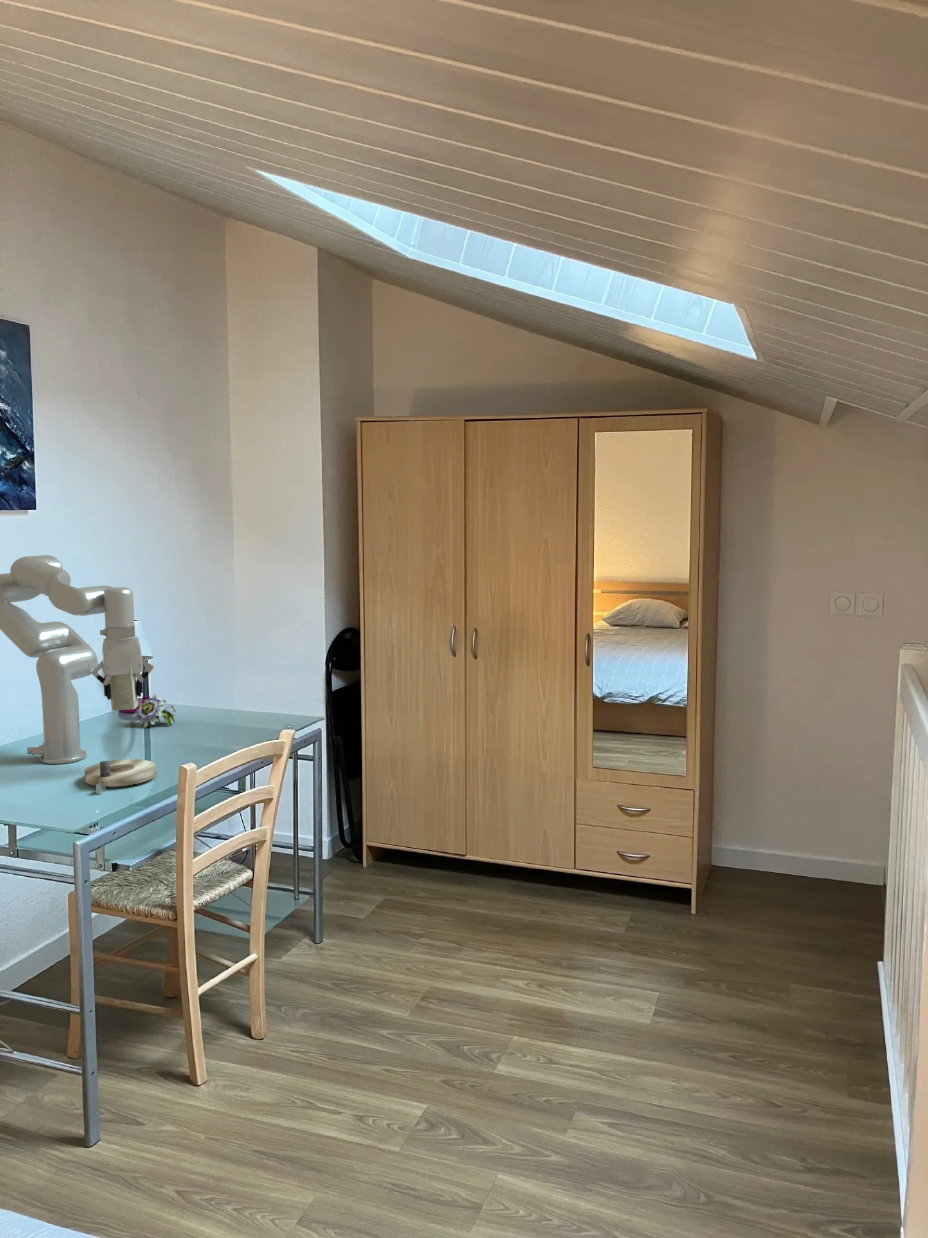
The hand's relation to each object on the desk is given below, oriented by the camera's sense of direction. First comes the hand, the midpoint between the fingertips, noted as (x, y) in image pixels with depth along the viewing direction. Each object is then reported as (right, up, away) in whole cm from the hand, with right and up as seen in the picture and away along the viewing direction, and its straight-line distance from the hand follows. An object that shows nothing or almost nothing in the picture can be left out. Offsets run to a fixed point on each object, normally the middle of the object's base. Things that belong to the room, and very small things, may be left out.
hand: (123, 696), depth 269 cm
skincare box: (0, -3, 0) cm, 4 cm away
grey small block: (+1, -23, -20) cm, 30 cm away
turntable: (+2, -21, -8) cm, 23 cm away
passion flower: (-8, -14, +52) cm, 55 cm away
